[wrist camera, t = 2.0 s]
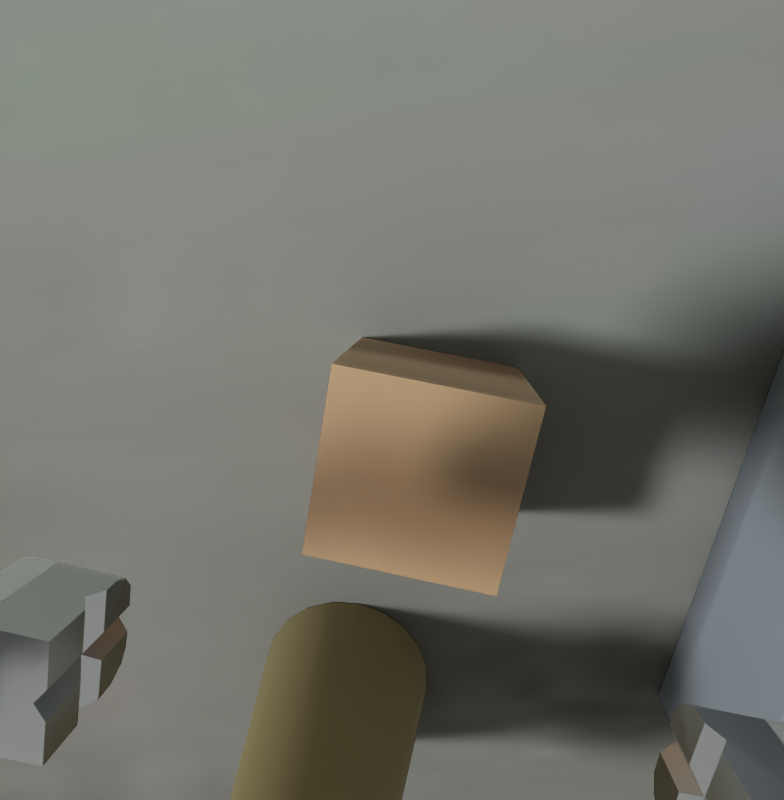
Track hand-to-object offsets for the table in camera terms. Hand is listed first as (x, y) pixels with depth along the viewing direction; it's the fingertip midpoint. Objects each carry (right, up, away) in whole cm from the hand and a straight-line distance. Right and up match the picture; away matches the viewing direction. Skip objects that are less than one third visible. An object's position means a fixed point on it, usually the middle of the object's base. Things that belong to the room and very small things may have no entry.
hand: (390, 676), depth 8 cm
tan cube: (+1, +3, +10) cm, 11 cm away
